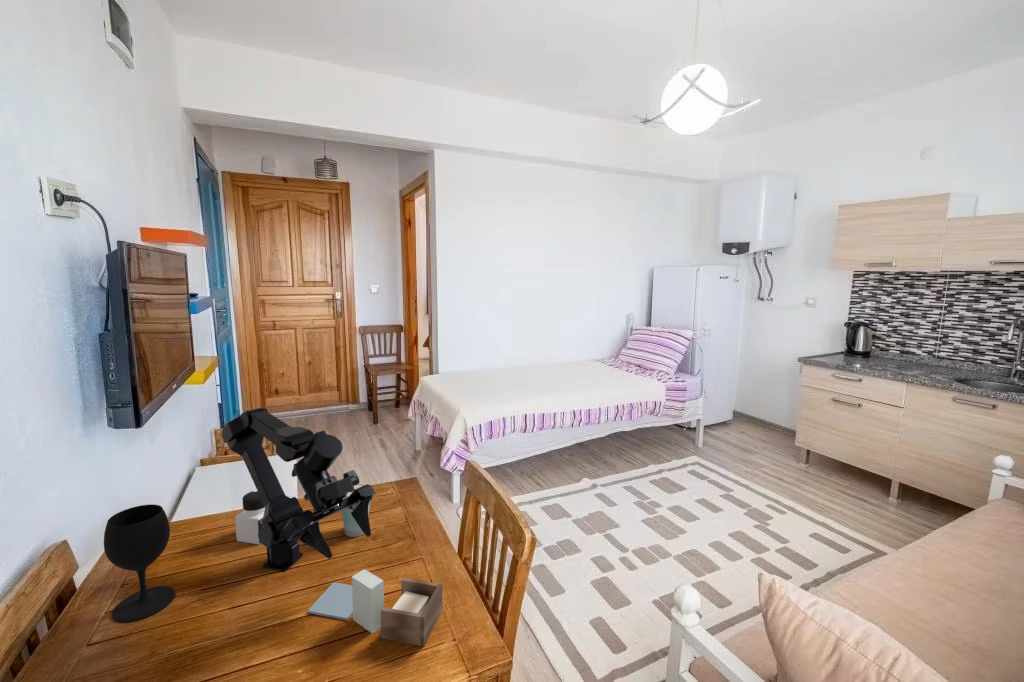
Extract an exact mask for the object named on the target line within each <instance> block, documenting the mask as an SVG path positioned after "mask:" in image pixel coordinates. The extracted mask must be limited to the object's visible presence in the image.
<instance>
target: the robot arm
mask: <svg viewBox="0 0 1024 682" xmlns="http://www.w3.org/2000/svg"><path fill="white" fill-rule="evenodd" d="M221 437H222V440H223V441H224V442H225V443H226V444H227V447H228V448H229V449H230V451H231V452H234V453H235V454H237V455H239V456H241V458H242V459H243V462H244V464H245V466H246V469H247V471H248V473H249V476H250V478H251V479H252V481H253V484H254V486H255V488H256V490H257V491H258V493H259V495H260V497H261V500H262V502H263V504H264V506H265V511H264V515H263V524H264V526H263V528H262V529H261V530H260V532H259V533H258V538H259V542H260V543H261V544H260V545H263V546H264V547H266V559H267V560H266V561H265V562H264V563H263V564H262V567H263V568H264V569H271V570H278V571H283V572H284V571H287V570H289V569H290V568H291V567H292V566H293V565H294V564H295V563H296V562H298V561H299V560H300V559H301V558H302V557H303V555H304V553H303V552H301V551H300V542H301V543H303V544H305V545H307V546H309V547H311V548H312V549H314V550H315V551H317V552H319V553H320V555H323V556H324V557H325V558H327V559H328V560H330V559H332V557H333V554H332V551H331V548H330V546H329V545H328V543H327V541H326V540H325V538H324V536H323V534H322V532H321V529H320V521H322V520H324V519H326V518H328V517H330V516H332V515H334V514H337V513H339V512H341V510H343V509H346V508H348V507H349V509H352V510H353V511H352V513H351V515H352V516H353V518H354V519H355V521H356V522H357V524H358V525H359V527H360V528H361V530H362V531H363V533H364V534H363V535H365V536H366V537H367V538H369V537H371V536H372V532H371V530H372V529H371V526H370V525H371V524H370V519H369V518H370V517H368V505H369V502H370V503H371V501H372V500H373V497H374V495H376V493H377V492H376V490H375V489H374V487H373V486H372V485H371V484H368V483H366V484H365V485H364V486H362V487H359V488H357V489H354V486H355V485H357V484H360V478H359V475H358V474H357V472H356V470H354V469H351V470H349V471H347V472H343V477H342V478H341V479H338V478H337V476H335V475H331V474H330V473H329V471H328V470H329V469H330V468H331V467H332V466H333V464H334V463H335V462H336V461H337V459H338V457H339V456H340V455H341V453H342V452H343V443H342V441H341V439H339V438H338V437H336V436H335V435H332V434H327V432H326V431H325V430H320V431H316V432H315V433H314V432H313V431H312V430H310V429H309V428H305V427H302V426H291V425H288V423H286V422H284V421H282V419H279V418H278V417H276V416H275V415H273V414H272V413H270V412H269V411H268V409H267V408H265V407H257V408H253V409H247V410H244V412H242V413H241V414H240V415H239V416H237V417H236V418H234V419H232V420H230V421H229V422H227V423H226V424H225V426H224V427H223V428H222V430H221ZM264 438H265V439H266V440H268V441H269V442H270V443H272V444H273V445H274V446H275V454H276V455H277V456H278V457H279V458H280V459H281V460H282V461H284V462H286V463H289V462H291V461H295V460H298V459H299V461H297V462H296V463H294V464H293V469H292V471H291V477H292V478H294V477H296V478H297V479H298V481H299V483H300V485H301V487H302V489H303V491H304V493H305V494H304V496H303V498H304V500H305V501H309V502H310V504H311V507H312V509H313V510H314V511H312V510H310V509H307V510H305V511H304V509H303V508H302V506H301V505H300V502H299V500H298V498H297V497H296V496H293V497H290V496H288V495H286V494H285V492H284V488H283V487H282V485H281V483H280V481H279V478H278V476H277V474H276V473H275V470H274V468H273V465H272V463H271V462H270V459H269V457H268V455H267V453H266V451H265V449H264V447H263V443H264V442H263V441H264ZM348 492H350V493H351V492H352V493H351V495H350V496H349V497H348V498H346V499H344V500H343V498H344V497H346V495H347V493H348Z"/></svg>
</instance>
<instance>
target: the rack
mask: <svg viewBox="0 0 1024 682" xmlns="http://www.w3.org/2000/svg"><path fill="white" fill-rule="evenodd" d="M400 587H401V590H400V591H401V594H400V595H401V596H402V595H403V594H404V592H405V591H407V592H412V593H416V594H420V595H425V596H429V602H428V604H427V605H426V607H425V609H424V611H423V613H422V614H419V613H413V612H407V611H402V610H396V609H392V608H389V607H385V606H384V607H382V609H381V627H380V637H381V639H383V640H388V641H393V642H398V643H403V644H409V645H415V646H419V647H425V646H426V644H427V642H428V640H429V638H430V636H431V634H432V632H433V630H434V627H435V626H436V624H437V622H438V620H439V618H440V616H441V614H442V612H443V584H442V583H436V582H432V581H425V580H418V579H413V578H406V577H402V578H401V579H400ZM401 596H400V597H401Z"/></svg>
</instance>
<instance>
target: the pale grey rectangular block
mask: <svg viewBox="0 0 1024 682" xmlns="http://www.w3.org/2000/svg"><path fill="white" fill-rule="evenodd" d="M384 584H385V583H384V580H383V579H381V578H380V577H378V576H377V575H375V574H374V573H372V572H370V571H368V570H367V569H363V570H361V571H359V572H357V573H356V574H354V575H352V576H351V585H352V599H353V614H352V620H353V621H354V622H355V623H357V624H358V625H360V626H361V627H362V626H363V627H362V628H364V629H365V630H367V632H369V633H371V634H374V633H375V632H376V631H377V630H380V629H381V609H382V607H385V585H384ZM373 632H374V633H373Z"/></svg>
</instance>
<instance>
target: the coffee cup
mask: <svg viewBox="0 0 1024 682" xmlns="http://www.w3.org/2000/svg"><path fill="white" fill-rule="evenodd" d="M364 485H366V484H364V483H359V484H357V485H355V486H354V489H357V488H359V487H362V486H364ZM351 493H352V492H351ZM351 493H350V492H348V493H347V495H346V497H344V498H343V500H344V499H346V498H348V497H349V496H350V495H351ZM370 506H371V501H370V502H369V505H368V517H369V515H370ZM352 511H353V510H352V509H349V507H348V508H346V509H343V510H341V511H340V512H341V518H342V523H343V528H344V529H343V530H344V534H345V536H347V537H349V538H356V537H357V538H358V537H361V536H363V535H365V534H364V533H363V531H362V530H361V528H360V527H359V525H358V524H357V522H356V521H355V519H354V518H353V516H352V515H351V513H352ZM369 518H370V517H369Z"/></svg>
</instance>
